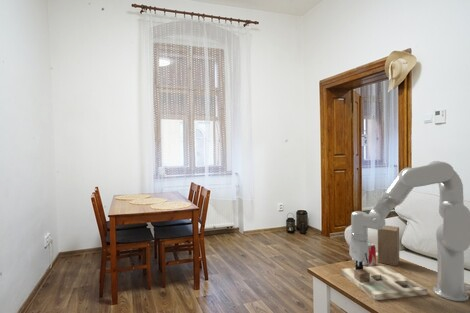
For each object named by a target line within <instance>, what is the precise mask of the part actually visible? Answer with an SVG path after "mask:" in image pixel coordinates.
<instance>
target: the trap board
mask: <svg viewBox="0 0 470 313" xmlns="http://www.w3.org/2000/svg"><path fill="white" fill-rule="evenodd" d="M363 269H364V270H366V271H367V272H369V273H370V282H359V281H358V280H356V279H355V278H354V270H355V267H351V268H350V267H349V268H347V267H346V268H341V269H340V275H342V276H345V277H344V278H345V279H347V280H348V281H349V282H351V283H352V284H353V285H354V286H356V287H357V288H358V289H360V290H361V292H364V293H365V294H366V295H367V296H369V297H370V298H371V299H373V300H374V301H379V300H380V301H381V300H389V299H399V298H407V297H408V298H410V297H417V296H426V295H427V296H428V288H426V287H424V286H423V285H421V284H419V283H418V282H416V281H414V280H412V279H410V278H408V277H407V276H405V275H403V274H401V273H399V272H398V271H397V270H395V269H393V268H391V267H389V266H387V265H386V264H384V265H382V264H381V265H374V266H363Z"/></svg>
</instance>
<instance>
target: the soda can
mask: <svg viewBox="0 0 470 313" xmlns="http://www.w3.org/2000/svg"><path fill="white" fill-rule="evenodd" d="M367 242H368V241H367ZM368 251H369V259H368V261H367V265H365V267H370V266H377V265H376V264H377V254H376V253H377V249H376V246H375V243H374V242H368Z"/></svg>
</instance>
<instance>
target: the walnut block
mask: <svg viewBox="0 0 470 313" xmlns="http://www.w3.org/2000/svg"><path fill="white" fill-rule="evenodd" d="M354 278H355V279H356V280H358V281H359V282H370V273H369V272H367V271H366V270H364V269H358V270H354Z"/></svg>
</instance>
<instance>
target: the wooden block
mask: <svg viewBox="0 0 470 313" xmlns="http://www.w3.org/2000/svg"><path fill="white" fill-rule="evenodd" d="M377 262H378V263H380V264H384V265H390V266H393V267H394V266H396V267H397V266H398V265H399V262H400V227H399V226H393V225H386V224H385V226H384V228H382V229H379V230H377Z"/></svg>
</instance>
